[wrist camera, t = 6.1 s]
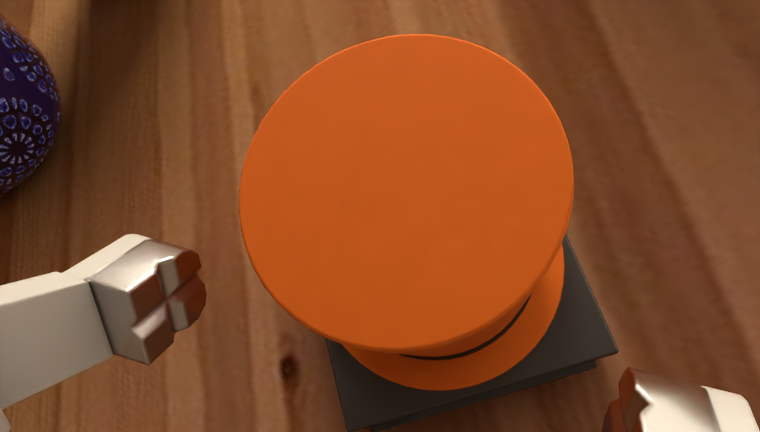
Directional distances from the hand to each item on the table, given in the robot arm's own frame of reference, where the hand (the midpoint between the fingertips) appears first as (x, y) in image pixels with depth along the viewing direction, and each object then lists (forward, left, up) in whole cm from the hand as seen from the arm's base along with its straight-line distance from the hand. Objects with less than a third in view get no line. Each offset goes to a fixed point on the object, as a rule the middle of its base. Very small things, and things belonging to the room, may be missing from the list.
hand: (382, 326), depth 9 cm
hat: (+2, -1, -7) cm, 8 cm away
